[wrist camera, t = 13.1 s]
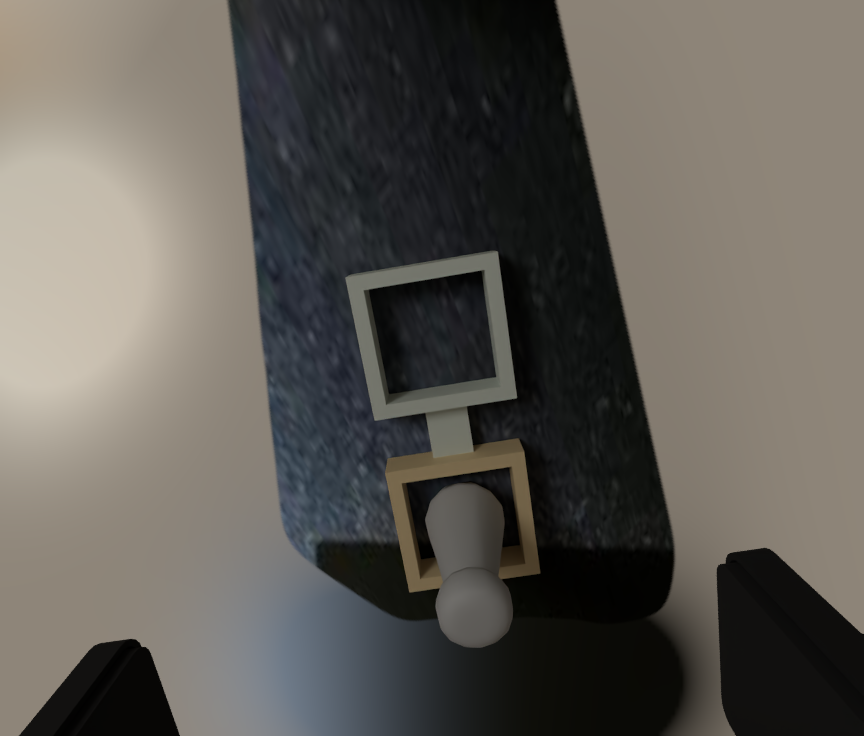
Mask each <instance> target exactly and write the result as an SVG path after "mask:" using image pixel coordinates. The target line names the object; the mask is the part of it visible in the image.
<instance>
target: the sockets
mask: <svg viewBox="0 0 864 736" xmlns="http://www.w3.org/2000/svg"><path fill="white" fill-rule="evenodd" d="M475 271H482V278H483V285H484V292H485V299H486V306H487V313H488V320H489V327H490V335H491V342H492V349H493V356H494V363H495V370H496V377H495V378H488V379H482V380H476V381H470V382H463V383H457V384H451V385H444V386H438V387H432V388H426V389H419V390H413V391H407V392H401V393H394V394H389V392H388V387H387V382H386V377H385V372H384V367H383V361H382V356H381V351H380V346H379V341H378V336H377V330H376V325H375V320H374V315H373V310H372V305H371V300H370V294H369V289H374V288H380V287H386V286H392V285H398V284H403V283H409V282H415V281H421V280H427V279H433V278H439V277H445V276H451V275H457V274H463V273H469V272H475ZM345 278H346V283H347V288H348V292H349V297H350V302H351V307H352V312H353V317H354V322H355V327H356V332H357V337H358V342H359V346H360V351H361V356H362V361H363V366H364V371H365V376H366V381H367V386H368V391H369V396H370V401H371V405H372V410H373V415H374V420H375V421H376V420H382V419H389V418H395V417H401V416H408V415H414V414H420V413H426V419H427V424H428V430H429V436H430V441H431V447H432V452H427V453H420V454H414V455H407V456H401V457H394V458H388V461H387V466H386V471H385V474H386V479H387V484H388V489H389V494H390V499H391V504H392V509H393V513H394V518H395V523H396V528H397V533H398V538H399V543H400V548H401V553H402V558H403V563H404V568H405V572H406V577H407V582H408V587H409V592H415V591H422V590H429V589H436V588H440V587H441V585H442V583H443V580H442V577H441V573H440V570H439V566H438V563H437V559H436V557H434V558H427V559H421V557H420V552H419V547H418V542H417V537H416V531H415V526H414V521H413V516H412V511H411V506H410V500H409V495H408V490H407V485H406V483H407V482H414V481H421V480H427V479H434V478H440V477H447V476H453V475H460V474H466V473H473V472H480V471H486V470H493V469H499V468H506V467H509V469H510V476H511V484H512V491H513V498H514V505H515V512H516V519H517V526H518V533H519V540H520V545H516V546H509V547H502V550H501V559H500V568H499V578H500V579H505V578H512V577H519V576H526V575H533V574H540V567H539V560H538V552H537V545H536V537H535V529H534V522H533V514H532V507H531V499H530V492H529V484H528V477H527V469H526V461H525V454H524V450H523V448H522V445H521V443H520V440H519V438H517V439H511V440H505V441H498V442H492V443H485V444H479V445H473V443H472V437H471V431H470V424H469V418H468V412H467V406H471V405H477V404H484V403H490V402H496V401H503V400H509V399H515V398H517V393H516V386H515V378H514V371H513V363H512V356H511V348H510V341H509V333H508V326H507V318H506V310H505V303H504V295H503V288H502V280H501V273H500V265H499V258H498V252H497V251H488V252H482V253H476V254H470V255H464V256H458V257H452V258H447V259H441V260H435V261H429V262H423V263H417V264H411V265H405V266H399V267H393V268H387V269H381V270H376V271H370V272H364V273H358V274H352V275H349V276H347V277H345Z"/></svg>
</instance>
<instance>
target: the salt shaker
mask: <svg viewBox="0 0 864 736" xmlns="http://www.w3.org/2000/svg"><path fill="white" fill-rule="evenodd" d="M425 522H426V526H427V531H428V535H429V538H430V541H431V544H432V547H433V550H434V553H435V556H436V559H437V563H438V566H439V570H440V573H441V577H442V580H443V583H442V585H441V587H440V590H439V593H438V596H437V599H436V610H437V615H438V619H439V623H440V627H441V630H442V631H443V632H444V633H445V635H446V636H447V637H448V638H449V639H450V640H451V641H453V642H455V643H457V644H459V645H462V646H464V647H478V648H479V647H480V648H482V647H485V646H487V645H490V644H493V643H495V642H497V641H498V640H499V639H500V638H501V637H503V636H504V635H505V634H506V633H507V632H508V630H509V627H510V624H511V621H512V618H513V607H512V601H511V595H510V592H509V589H508V587H507V586H506V585H505V584H504V582H503V581H502V580H501V579H500V578H499V568H500V559H501V550H502V542H503V533H504V525H505V521H504V514H503V508H502V505H501V504H500V502H499V501H498V500H497V499H496V498H495V496H494V495H493V494H492V493H491V492H490V491H489V490H487V489H485V488H483V487H481V486H479V485H477V484H475V483H473V482H471V481H468V482H463V483H457V484H451V485H447V486H445V487H444V488H443V489H442V490H441V491H440V492H439V493H438V494H437V495H436V496H435V497H434V498H433V499H432V500H431V502H430V505H429V508H428V512H427V515H426V518H425Z"/></svg>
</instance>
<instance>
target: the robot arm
mask: <svg viewBox="0 0 864 736" xmlns="http://www.w3.org/2000/svg"><path fill="white" fill-rule="evenodd" d="M717 593H718V617H719V618H718V619H719V643H720V670H721V695H722V704H723V709H724V712H725V715H726V718H727V720H728V722H729V724H730V726H731V728H732V730H733V731H734V733H735V735H736V736H864V634H862V633H860V632H859V631H858V630H857V629H856V628H855V627H854V626H853V625H852V624H851V623H850V622H848V621H847V620H846V619H845V618H844V617H843V616H842V615H841V614H840V613H839V612H838V611H837V610H835V608H833V607H832V606H831V605H830V604H829V603H828V602H827V601H826V600H825V599H824V598H822V596H820V595H819V594H818V593H817V592H816V591H815V590H814V589H813V588H812V587H811V586H810V585H809V584H808V583H807V582H805V581H804V580H803V579H802V578H801V577H800V576H799V575H798V574H797V573H796V572H795V571H794V570H793V569H791V568H790V567H789V566H788V565H787V564H786V563H785V562H784V561H783V560H782V559H781V558H780V557H779V556H778V555H777V554H775V553H774V552H773V551H771V550H770V549H767V548H761V549H754V550H747V551H740V552H733V553H730V554H728V555H727V558H726V564H720V565H718V567H717ZM19 736H180V735H179V732H178V729H177V726H176V723H175V721H174V718H173V715H172V712H171V709H170V706H169V704H168V701H167V698H166V695H165V693H164V690H163V687H162V684H161V681H160V678H159V676H158V673H157V670H156V667H155V664H154V661H153V658H152V656H151V653H150V651H149V649H147V648H146V647H141V645H140V643H139V642H138V641H137V640H135V639H127V640H120V641H113V642H106V643H100V644H97V645H95V646H94V647H93V648H91V649H90V650H89V651H88V653H87V654H86V655H85V656H84V657H83V659H82V660H81V661H80V663H79V664H78V665H77V666H76V667H75V668H74V670H73V671H72V672H71V673H70V674H69V676H68V677H67V678H66V679H65V681H64V682H63V683H62V684H61V686H60V687H59V688H58V689H57V690H56V691H55V693H54V694H53V695H52V696H51V698H50V699H49V700H48V701H47V702H46V704H45V705H44V706H43V707H42V709H41V710H40V711H39V712H38V713H37V715H36V716H35V717H34V718H33V720H32V721H31V722H30V723H29V724H28V726H27V727H26V728H25V729H24V730H23V732H22V733H21V734H20V735H19Z"/></svg>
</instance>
